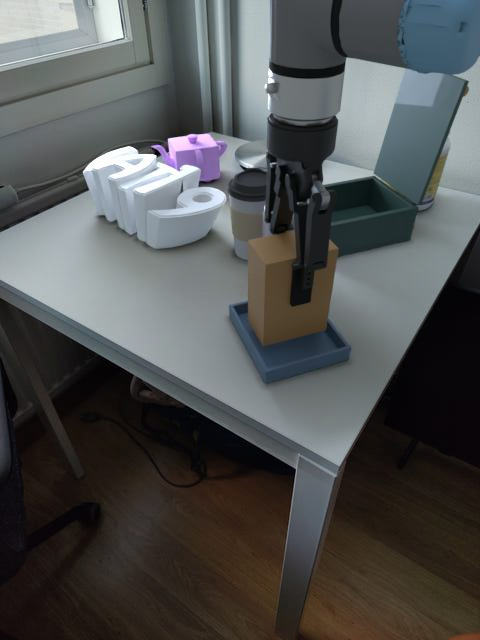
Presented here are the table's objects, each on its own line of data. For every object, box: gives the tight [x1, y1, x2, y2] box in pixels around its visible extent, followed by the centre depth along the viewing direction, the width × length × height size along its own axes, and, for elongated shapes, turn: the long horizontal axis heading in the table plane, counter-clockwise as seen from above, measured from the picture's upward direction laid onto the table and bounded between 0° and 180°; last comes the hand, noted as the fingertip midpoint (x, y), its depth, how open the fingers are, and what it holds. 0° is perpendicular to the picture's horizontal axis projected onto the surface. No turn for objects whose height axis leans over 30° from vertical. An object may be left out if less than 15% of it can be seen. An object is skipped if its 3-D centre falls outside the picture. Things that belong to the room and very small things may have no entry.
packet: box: [247, 231, 339, 347], centre depth 64 cm, size 6×10×14 cm, turn 110°
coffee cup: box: [227, 167, 267, 261], centre depth 83 cm, size 9×9×15 cm
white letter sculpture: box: [82, 146, 227, 250], centre depth 95 cm, size 35×16×10 cm, turn 42°
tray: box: [228, 300, 352, 385], centre depth 69 cm, size 15×13×2 cm
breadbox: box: [297, 175, 419, 258], centre depth 91 cm, size 20×15×7 cm
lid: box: [373, 68, 470, 205], centre depth 85 cm, size 21×15×6 cm
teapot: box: [150, 133, 228, 183], centre depth 109 cm, size 18×14×10 cm
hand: (289, 288), depth 64 cm, fingers closed on packet, 6 cm apart
